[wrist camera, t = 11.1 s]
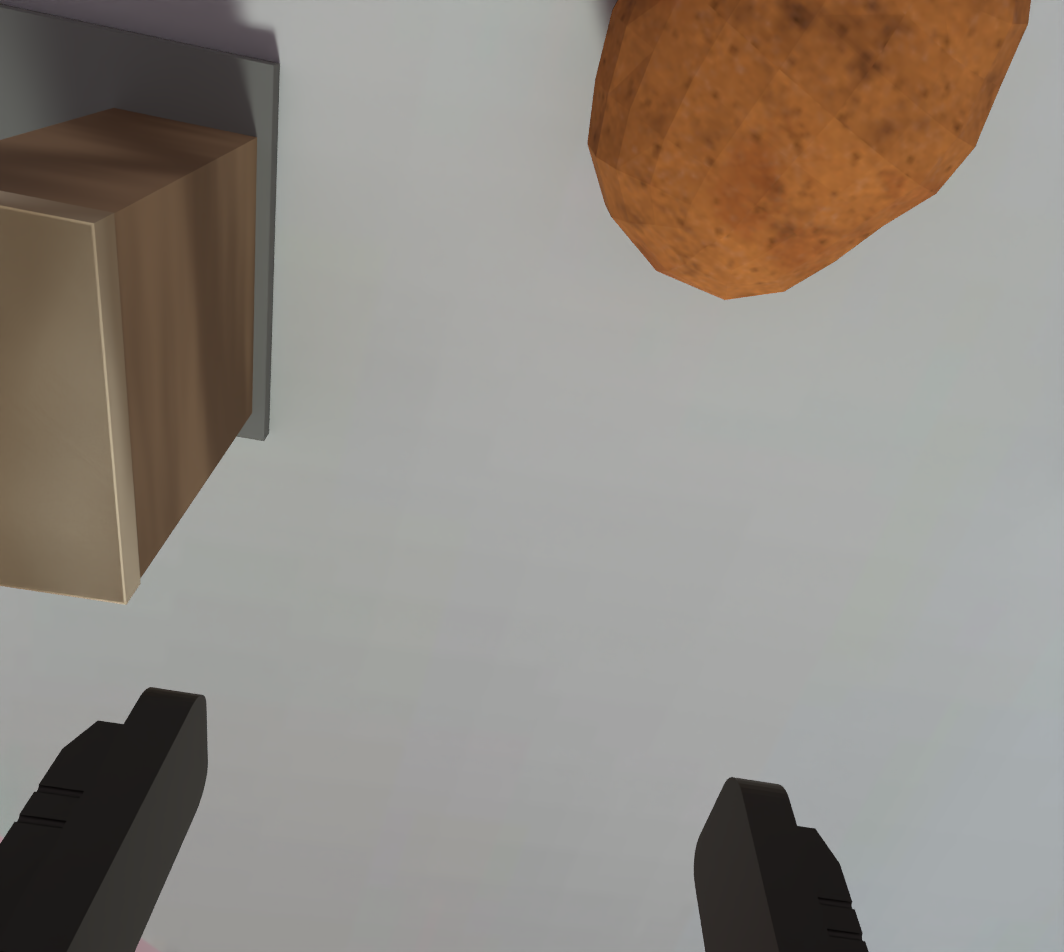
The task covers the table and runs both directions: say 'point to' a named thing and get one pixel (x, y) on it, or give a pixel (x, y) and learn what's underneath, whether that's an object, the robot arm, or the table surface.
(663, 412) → the table surface
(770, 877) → the robot arm
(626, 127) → the potato
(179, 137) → the slab
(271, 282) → the mat
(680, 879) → the table surface
